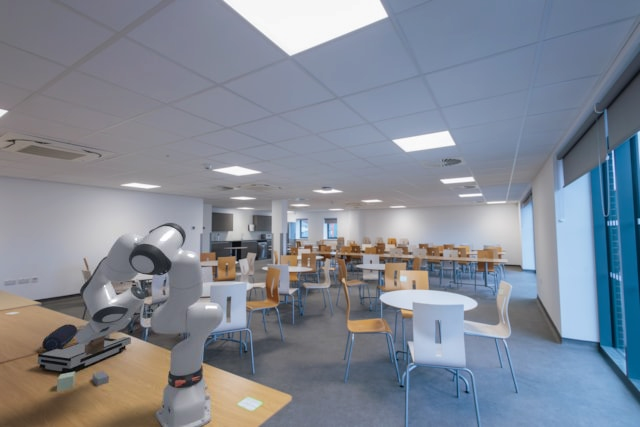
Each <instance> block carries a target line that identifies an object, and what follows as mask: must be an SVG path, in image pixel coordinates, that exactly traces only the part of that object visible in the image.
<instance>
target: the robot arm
mask: <svg viewBox="0 0 640 427" xmlns="http://www.w3.org/2000/svg"><path fill="white" fill-rule="evenodd" d="M186 236H187V235H186V232H185V230H184V228H183V227H182V226H181V225H179V224H177V223H175V222H167V223H164V224H161V225H158V226H157V227H155V228H153V229H151V230H149V233H148V234H147V235H145V236H143V235H139V234H138V233H125V234H122V235H121V236H119V237H118V238H117V239H116V241H115V242H114V243H113V245H112V246H111V248H110V250H109V251H108V254H107V255H106V256H105V257H103V258H102V259H101V260H100V261H99V263H98V265H97V266H96V267H95V269H94V271H93V273H92V274H91V276H90V277H89V278H88V279H87V281H86V282H85V283H84V284H83V285H82V286H81V287H80V290H79V293H80V296H81V298H82V299H83V300H84V303H85V306H86V308H87V311H88V313H89V316H90V318H89V319H88V323H86V324H85V326H84V325H83V326H84V327H83V328H82V329H81V330H80V331H79V332H78V334H77V335H76V336H74V337H75V340H76V343H79V344H83V343H85V345H88V344H90V343H91V342H92V340H94V339H96V338H99V337H102V336H105V337H106V336H108V335H111V334H113V333H116V332H118V331H122V330H123V329H125V328H126V327H127V326H128V325H129V324H130V322H131V321H132V317H133V316H134V315H135V313H136V312H137V311H138V310H139V309H140V308H141V306H142V305H143V304H144V302H145V300H146V294H145V293H144V291H143V290H142V289H141V288H140V287H138V286H135V285H133V286H130V287H129V288H127V289H126V290H125V291H124V292H122V293H119V294H117V293H116V290H115V288H114V286H113V283H127V282H129V281H131V280H133V279H134V278H136V277H137V276H138V275H139V274H142V275H147V276H155V275H156V276H163V275H166V274H167V275H168V288H169V291H168V292H169V293H168V298H167V300H166V301H165V302H164V303H162V304H161V305H160V306H158V307H157V308H156V309H154V310H153V312H152V314H151V317H150V321H149V323H150V327H151V329H152V331H153V333H155V334H161V335H174V334H175V335H177V334H185V333H186V334H189V335H188V337H187V338H185V339H184V340H182V341H180V342H179V343H177V344H176V345H175V346H173V348H172V349H171V352H170V364H169V365H170V366H169V371H168V375H167V380H168V381H167V385H166V386H165V387H164V388H163V389H162V401H161V402H162V404H161V408H160V409H158V410H157V411H156V412H155V417H156V418H157V420H158V421H159V423H160V425H161V426H162V427H203V426H205V425H207V424H208V423H209V422H211V420H212V405H211V403H212V402H211V400H210V399H211V396H210V395H211V394H210V392H205V391H206V390H208V385H207V384H206V378H205V377H204V368H203V365H202V361H203V352H204V346H205V343H206V341H207V339H208V338H209V336H210V334H212V332H214V331H215V330H216V329H217V328H218V327H219V326H220V325H221V323H222V322H223V318H224V312H223V308H222V306H221V305H220V304H219V303H218V302H217V303H216V302H209V301H202V302H201V301H200V302H198V301H199V300H200V298H201V297H202V296H203V292H204V288H203V283H204V282H203V268H202V264H201V260H200V257H199V255H198V254H197V253H196V252H195V251H193V250H188V249H186V250H184V249H182V247H183V245H184V244H185V243H186Z"/></svg>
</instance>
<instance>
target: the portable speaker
mask: <svg viewBox="0 0 640 427" xmlns="http://www.w3.org/2000/svg"><path fill="white" fill-rule="evenodd" d="M76 327H77V326H76V325H74V324H70V323H69V324H64V325H61V326H60V327H57V328H56V329H55V330H53V331H52V332H50V333H49V334H48V335H47V336H46V337H45V338H44V339H43V341H42V348H43V349H44V350H45V351H49V350H52V349H62V348H64V347H65V345H67V344H68V343H69V342H70V341H71V340H73V338H74V337H75V335H76V333H77V328H76Z"/></svg>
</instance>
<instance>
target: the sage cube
mask: <svg viewBox="0 0 640 427" xmlns="http://www.w3.org/2000/svg"><path fill="white" fill-rule="evenodd" d="M75 382H76V373H75V372H70V373H67V372H64V373H62V374H61V373H60V374H59V376H58V378H57V383H56V392H61V391H64V390H70V389H73V388H74V385H75Z"/></svg>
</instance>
